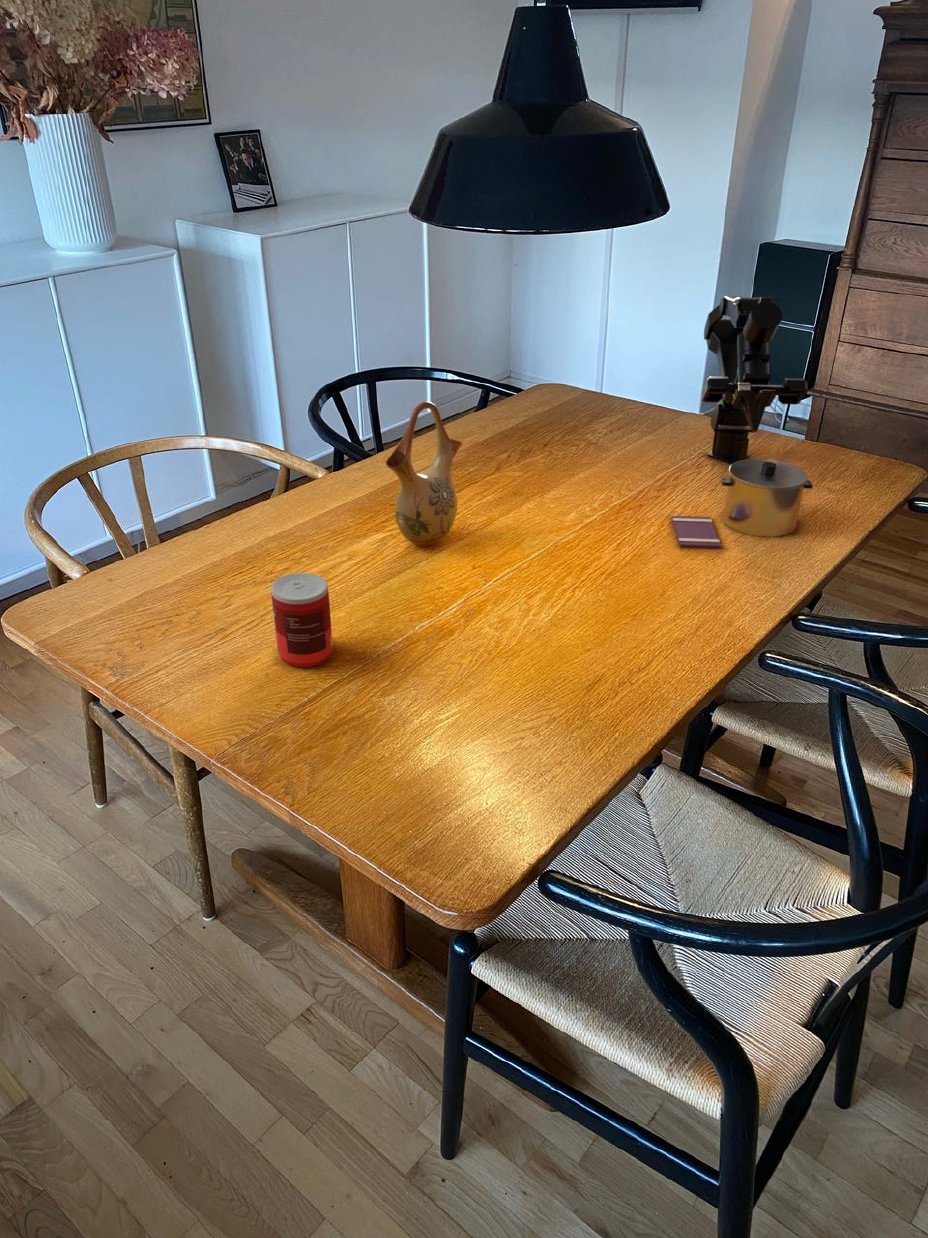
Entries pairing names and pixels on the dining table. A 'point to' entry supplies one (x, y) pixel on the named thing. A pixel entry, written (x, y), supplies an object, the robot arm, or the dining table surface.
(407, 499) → the ceramic vessel
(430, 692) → the dining table surface
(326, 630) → the canned food
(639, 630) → the dining table surface
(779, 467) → the steel pot
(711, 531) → the purple striped coaster
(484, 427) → the dining table surface
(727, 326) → the robot arm
